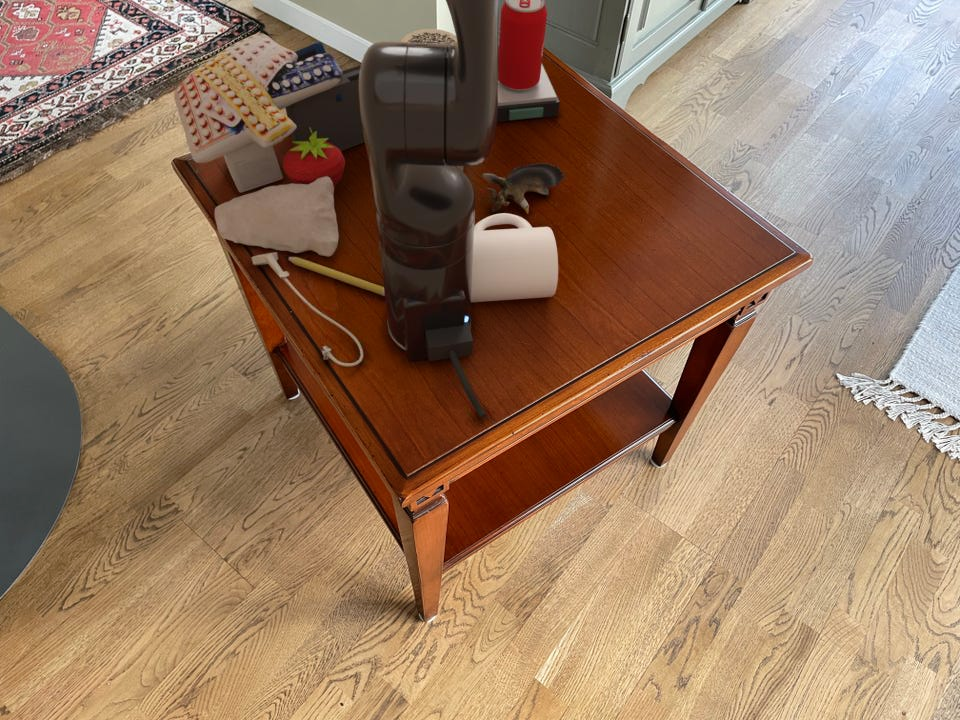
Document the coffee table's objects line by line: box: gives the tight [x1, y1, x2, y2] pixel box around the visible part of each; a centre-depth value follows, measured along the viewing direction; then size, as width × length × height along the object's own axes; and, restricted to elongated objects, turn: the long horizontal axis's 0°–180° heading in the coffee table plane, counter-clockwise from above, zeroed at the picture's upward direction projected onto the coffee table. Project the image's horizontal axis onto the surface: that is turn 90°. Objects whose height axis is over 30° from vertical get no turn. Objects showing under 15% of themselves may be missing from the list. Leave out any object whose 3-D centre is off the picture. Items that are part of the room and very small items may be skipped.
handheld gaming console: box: [285, 64, 365, 152], centre depth 95 cm, size 23×3×10 cm, turn 124°
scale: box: [497, 63, 561, 123], centre depth 104 cm, size 10×10×3 cm
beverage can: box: [498, 0, 548, 91], centre depth 98 cm, size 6×6×12 cm
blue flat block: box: [294, 41, 342, 102], centre depth 94 cm, size 7×14×1 cm
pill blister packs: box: [173, 33, 343, 164], centre depth 85 cm, size 21×6×15 cm
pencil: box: [284, 256, 385, 297], centre depth 83 cm, size 1×14×1 cm, turn 68°
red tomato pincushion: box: [282, 128, 346, 188], centre depth 87 cm, size 6×8×10 cm
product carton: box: [223, 142, 284, 194], centre depth 90 cm, size 6×6×7 cm
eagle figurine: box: [481, 162, 566, 214], centre depth 90 cm, size 8×7×9 cm
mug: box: [471, 212, 559, 303], centre depth 81 cm, size 12×10×8 cm
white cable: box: [251, 251, 364, 368], centre depth 80 cm, size 5×3×20 cm
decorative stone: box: [214, 176, 340, 257], centre depth 85 cm, size 10×4×15 cm
